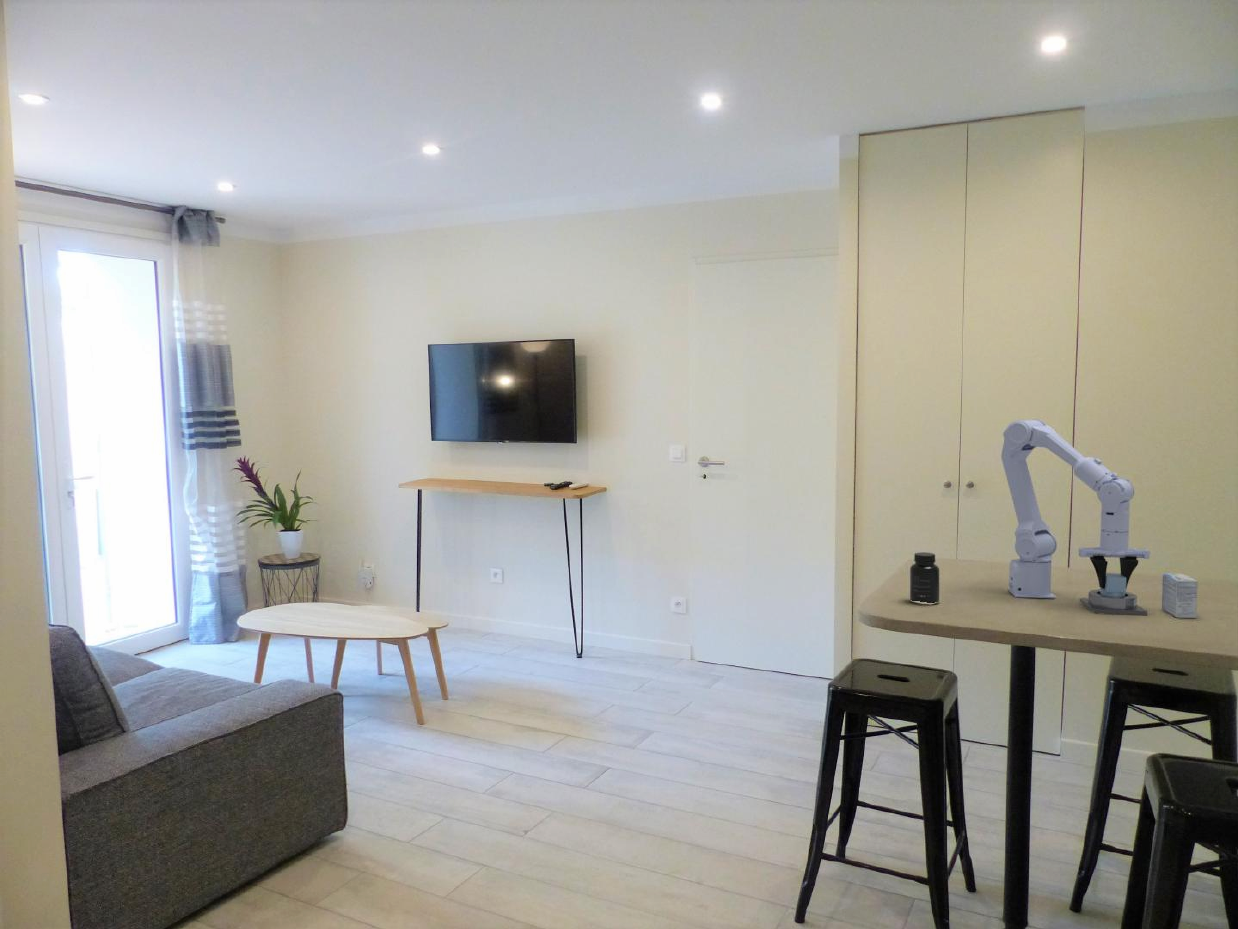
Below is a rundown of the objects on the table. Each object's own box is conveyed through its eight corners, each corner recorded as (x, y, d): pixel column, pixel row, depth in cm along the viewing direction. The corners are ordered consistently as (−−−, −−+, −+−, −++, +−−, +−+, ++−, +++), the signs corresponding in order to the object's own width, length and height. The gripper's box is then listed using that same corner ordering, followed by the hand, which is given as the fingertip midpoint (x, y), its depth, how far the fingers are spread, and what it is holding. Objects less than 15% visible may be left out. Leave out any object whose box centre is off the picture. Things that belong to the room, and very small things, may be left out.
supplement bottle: (913, 597, 218) (913, 550, 217) (941, 600, 215) (942, 552, 214) (906, 603, 212) (907, 555, 211) (936, 606, 209) (936, 557, 208)
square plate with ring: (1094, 613, 200) (1094, 598, 200) (1079, 602, 211) (1079, 587, 211) (1146, 615, 198) (1147, 600, 198) (1129, 603, 209) (1129, 589, 209)
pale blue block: (1104, 602, 203) (1105, 577, 202) (1097, 597, 208) (1097, 572, 207) (1127, 603, 202) (1128, 577, 201) (1120, 598, 206) (1121, 573, 206)
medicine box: (1197, 619, 195) (1198, 580, 194) (1175, 618, 196) (1176, 580, 195) (1182, 610, 202) (1183, 573, 202) (1160, 609, 203) (1162, 573, 203)
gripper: (1086, 532, 201) (1084, 590, 202) (1155, 534, 198) (1153, 592, 199) (1076, 528, 208) (1075, 584, 209) (1143, 529, 205) (1141, 586, 206)
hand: (1112, 588), depth 204 cm, fingers closed on pale blue block, 4 cm apart
